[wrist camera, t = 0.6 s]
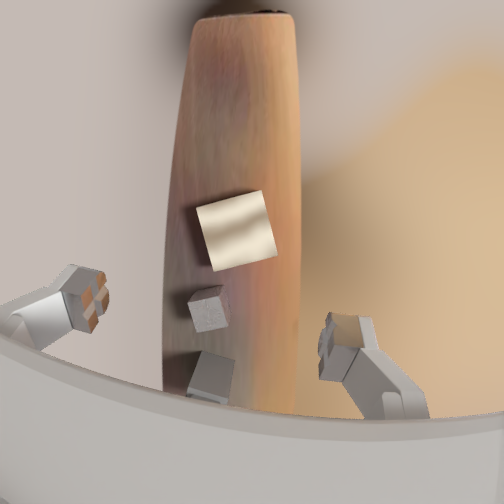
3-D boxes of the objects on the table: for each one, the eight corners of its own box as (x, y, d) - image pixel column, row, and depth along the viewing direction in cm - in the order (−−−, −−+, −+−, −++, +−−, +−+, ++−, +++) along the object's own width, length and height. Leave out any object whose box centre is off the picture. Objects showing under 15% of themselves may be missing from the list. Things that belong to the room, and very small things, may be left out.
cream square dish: (276, 250, 58) (278, 255, 54) (217, 265, 59) (213, 271, 54) (261, 190, 57) (261, 190, 52) (201, 206, 58) (196, 207, 53)
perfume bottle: (202, 350, 62) (182, 402, 44) (234, 360, 62) (225, 415, 44) (194, 377, 63) (174, 431, 45) (225, 386, 63) (215, 443, 45)
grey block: (231, 312, 60) (227, 326, 53) (203, 318, 61) (197, 332, 54) (223, 284, 60) (218, 296, 53) (195, 291, 60) (187, 302, 53)
